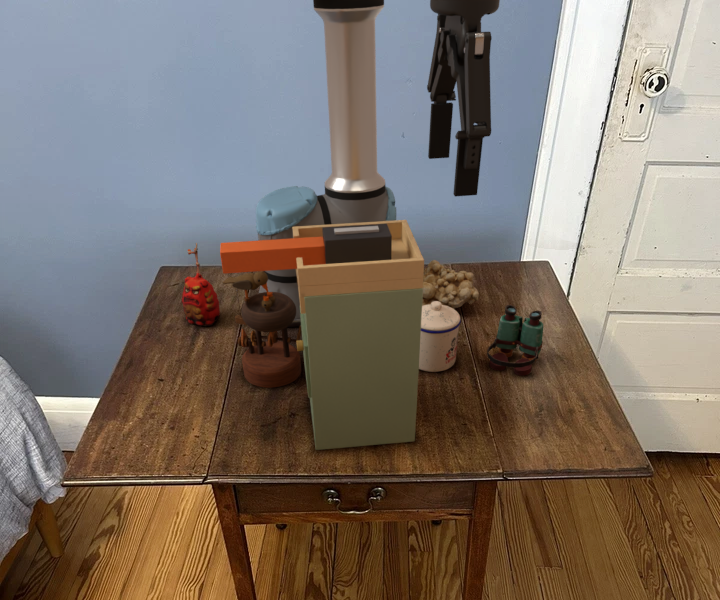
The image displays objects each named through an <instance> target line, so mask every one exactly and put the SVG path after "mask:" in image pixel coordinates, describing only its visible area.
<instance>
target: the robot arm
mask: <svg viewBox="0 0 720 600" xmlns="http://www.w3.org/2000/svg"><path fill="white" fill-rule="evenodd" d="M312 1H313V4H312V5H313V10H314V12H315V13H316V14H317V15H318V16H319V18H320V19H321V20H322V22H323V33H324V53H325V70H326V87H327V89H326V90H327V105H328V106H327V107H328V108H327V109H328V124H329V125H328V127H329V144H330V145H329V146H330V161H331V162H330V164H331V165H330V166H331V174H330V175H329V176H328V178H326V180H325V181H324V194H319V195H317V194H316V192H315V190H314V189H312V188H311V187H308V186H304V185H303V186H297V185H295V186H293V185H292V186H286V187H282V188H279V189H276V190H273V191H271V192H268V193H267V194H265V195H264V196H263V197H262V198H261V199H260V200H259V201H258V202H257V204H256V207H255V231H256V233H257V239H258V240H257V241H259V240H275V239H291V238H293V228H292V227H297V226H313V225H329V224H345V223H362V222H378V221H394V220H397V206H396V198H395V197H396V196H395V194H394V192H393V190H392V189H391V188H390V187H387V186H386V179H385V178H384V177H383V176H382V175H381V174H380V173H379V172H378V133H377V132H378V131H377V130H378V129H377V127H378V126H377V125H378V124H377V62H376V61H377V59H376V55H377V53H376V52H377V51H376V20H377V17H378V15H380V13H381V12H382V10H384V7H385V0H312ZM500 1H501V0H429V8H430V10H431V11H432V12H433V13H435V14H437V16H436V33H435V39H434V43H433V44H434V45H433V51H432V57H431V63H430V69H429V74H428V75H429V76H428V81H427V85H426V90H427V93H429V99H430V102H432V103H430V116H429V117H430V118H429V134H428V135H429V137H428V154H427V157H428V159H429V160H433V159H434V160H436V159H450V152H451V138H452V125H453V124H452V123H453V112H454V111H453V110H454V103H453V101H458V110H459V111H458V112H459V120H460V130H457V132H456V133H455V136H454V138H455V139H456V140H457V145H456V158H455V171H454V182H453V183H454V184H453V196H454V197H467V196H477V195H478V189H479V180H480V179H479V178H480V172H481V171H480V169H481V161H482V152H483V140H484V138H486V137H491V135H492V109H491V107H492V105H491V102H492V101H491V100H492V99H491V48H492V47H491V44H492V38H493V37H492V33H491V31H482V22H481V21H482V18H483V17H484V16H485V15H487V16H488V15H493V14H495V13H496V12H497V11H498V10H499V7H500ZM456 87H457V88H456ZM455 88H456V90H457V91H455ZM456 92H457V96H456ZM263 272H265V273H266V274H267V276H268V281H267V287H268V292H279V293H282V294H285V295H287V296H288V297H290V298H291V299H292V300H293V302H294V304H295V306H296V316H295V319H294V321H293V322H292V323H291V324H290V325H289V326H288V327H287V328H295V327H298V328H299V326H301V318H300V300H299V291H298V283H297V275H296V269H285V270H270V271H263ZM263 292H267V291H266V290H265V289H264V288H263V287H262V286H260V285H259V290H258V293H263Z"/></svg>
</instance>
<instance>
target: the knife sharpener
mask: <svg viewBox="0 0 720 600" xmlns="http://www.w3.org/2000/svg"><path fill="white" fill-rule="evenodd" d="M322 232H323V237H307V238H291V239H275V240H259V241H258V240H246V241H228V242H220V245H219V246H220V247H219V248H220V249H219V254H220V261H221V268H222V269H221V270H222V274H224V275H225V274H238V273H239V274H240V273H256V272H258V271H270V270H285V269H297V261H296V258H300V257H302V259H303V266H305V265H320V264H335V263H350V262H365V261H380V260H391V253H392V236H391V233H390V231H389V228H388V225H387V224H371V225H355V226H339V227H323V228H322Z"/></svg>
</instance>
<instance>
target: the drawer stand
mask: <svg viewBox="0 0 720 600" xmlns="http://www.w3.org/2000/svg"><path fill="white" fill-rule="evenodd" d="M371 224H387V225H388V228H389V231H390V233H391V236H392V253H391V260H380V261H365V262H350V263H335V264H320V265H305V266H303V259H302V257H300V258H296V261H297V269H296V275H297V283H298V291H299V300H300V318H301V330H302V333H301V339H300V340H297V341H296V342H297V344H296V349H297V351H299V352H302V355H303V362H304V363H303V364H304V372H305V380H306V388H307V390H306V391H307V397H308V398H309V404H310V413H311V414H310V415H311V421H312V431H313V438H314V447H315V451H321V450H332V449H334V450H335V449H345V448H356V447H365V446H376V445H377V446H378V445H388V444H389V445H390V444H399V443H401V444H402V443H411V442H415V441H416V427H417V410H418V409H417V408H418V390H419V389H418V388H419V372H420V369H419V354H420V336H421V318H422V299H423V276H424V269H425V258H424V256H423V255H422V252H421V249H420V248H419V246H418V242H417V240H416V238H415V236H414V234H413V232H412V230H411V226H410V225H409V223H408V220H407V219H396V220H394V221H378V222H362V223H345V224H329V225H313V226H297V227H292V228H293V238H307V237H323V232H322V228H323V227H339V226H355V225H371ZM296 342H295V343H296Z"/></svg>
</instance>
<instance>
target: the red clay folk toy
mask: <svg viewBox="0 0 720 600" xmlns="http://www.w3.org/2000/svg"><path fill="white" fill-rule="evenodd" d="M198 250H199V248H198V243H197V242H195V248H194V249H193V251H192V249H190V248H188V249H187V251H186V252H187V254H188V255H189V256H190V255H192V254H193V255H194V257H195V266H196V272H195V273H196V274H195V276H194V277H193V276H187V277H186V278H184V287H183V289H182V293H181V299H180V302H181V304H182V305H183V312H184V316H185V320H186V321H187V322H188V324H191V325H192V324H194V325H197V326H200V327H209V326H210V327H211V326H213V325H214V323H215V322H216V321H217V320H218V319H219V318H220V314H221V309H220V300H219V299H218V293H217V292H216V291H215V288H214V286H213V285H212V284H211V282H210V281H208V280H207V279H206V278H205V277H203V276H202V274H201V271H200V269H199V268H200V266H201V264H200V262H199V255H198V253H199V252H198Z"/></svg>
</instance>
